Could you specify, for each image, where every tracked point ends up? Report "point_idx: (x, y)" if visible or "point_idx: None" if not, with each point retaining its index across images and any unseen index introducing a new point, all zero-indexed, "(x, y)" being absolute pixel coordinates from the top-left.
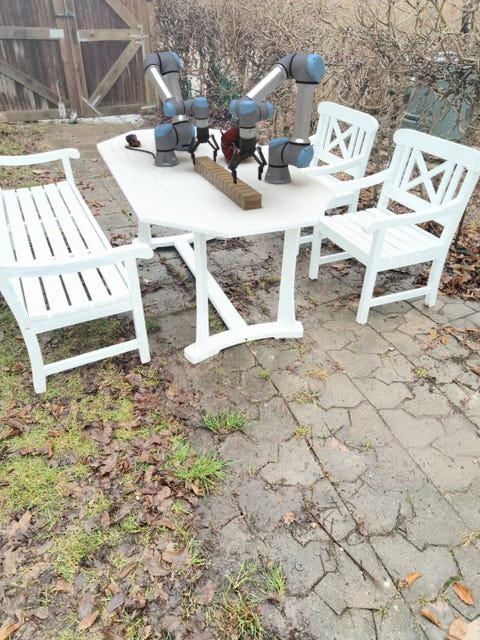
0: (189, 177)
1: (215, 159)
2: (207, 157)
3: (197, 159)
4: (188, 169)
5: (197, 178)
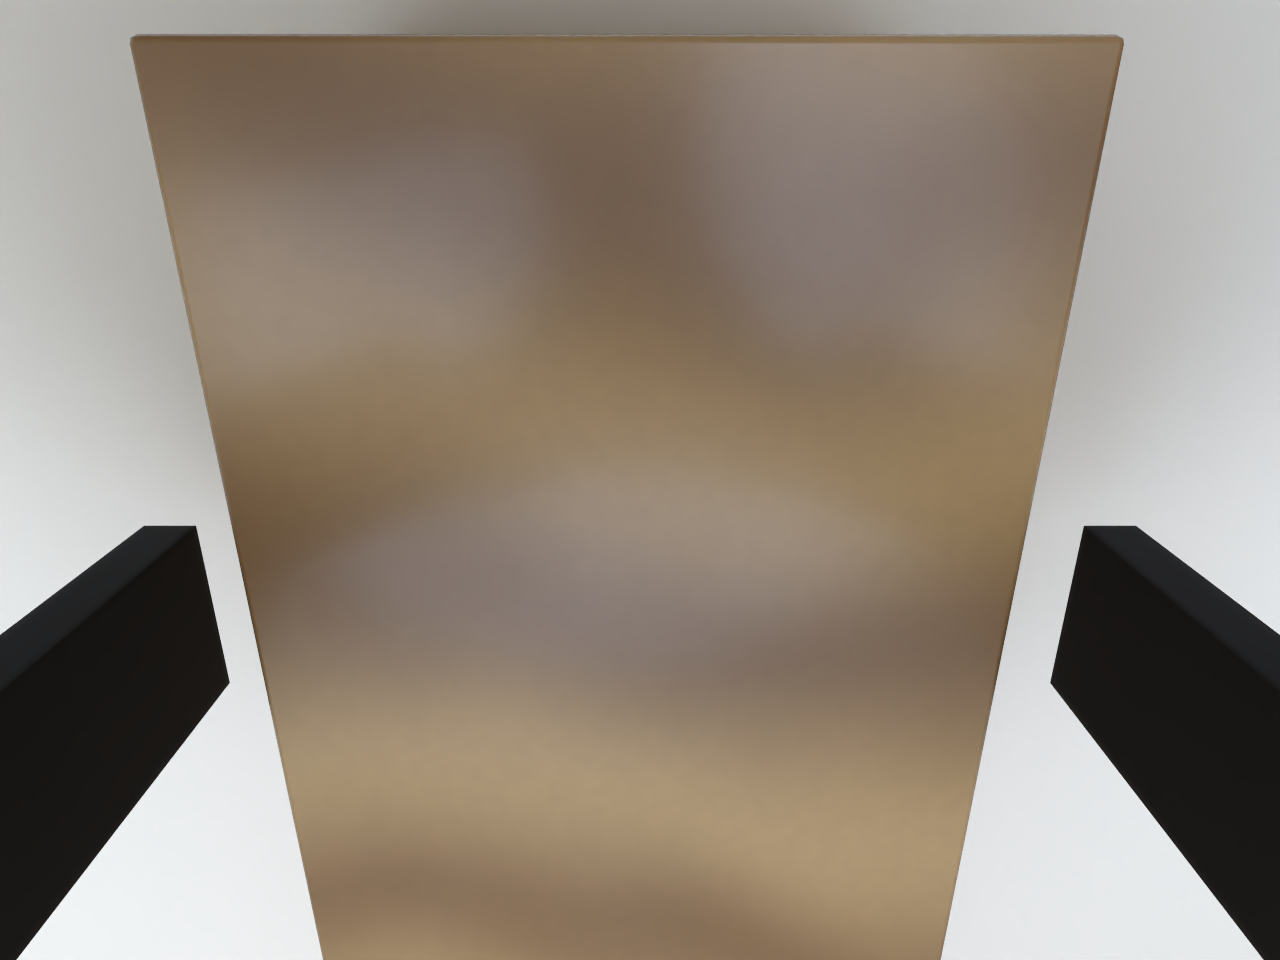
0: None
1: (1136, 763)
2: (952, 412)
3: (312, 551)
4: None
5: (282, 926)
